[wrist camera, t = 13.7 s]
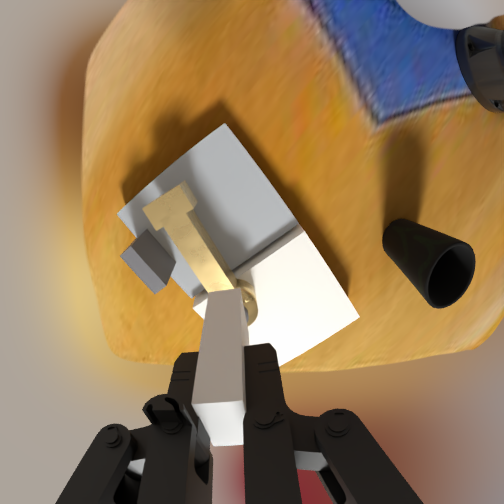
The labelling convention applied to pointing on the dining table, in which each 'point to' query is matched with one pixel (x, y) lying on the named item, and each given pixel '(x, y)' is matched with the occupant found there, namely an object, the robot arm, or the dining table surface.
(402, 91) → the dining table surface
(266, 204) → the doorframe
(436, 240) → the cup
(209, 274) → the bar
